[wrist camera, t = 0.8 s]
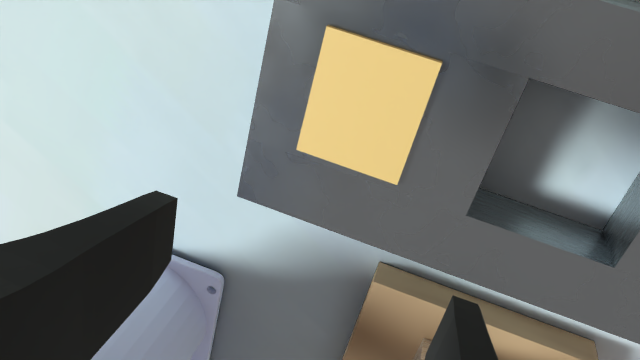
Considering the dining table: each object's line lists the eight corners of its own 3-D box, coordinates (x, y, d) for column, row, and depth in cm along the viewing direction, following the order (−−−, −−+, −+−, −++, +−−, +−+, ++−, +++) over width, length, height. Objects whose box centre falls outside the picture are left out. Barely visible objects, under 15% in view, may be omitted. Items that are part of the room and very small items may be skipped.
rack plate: (635, 305, 23) (651, 352, 21) (258, 169, 25) (234, 198, 22) (820, 55, 17) (870, 81, 15) (314, -94, 19) (289, -91, 17)
